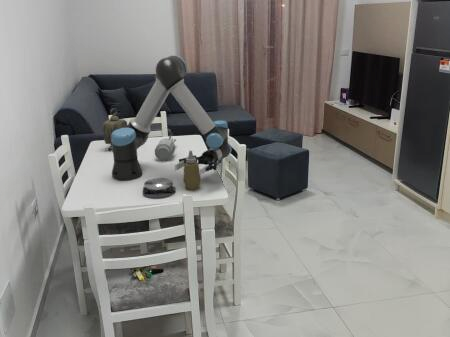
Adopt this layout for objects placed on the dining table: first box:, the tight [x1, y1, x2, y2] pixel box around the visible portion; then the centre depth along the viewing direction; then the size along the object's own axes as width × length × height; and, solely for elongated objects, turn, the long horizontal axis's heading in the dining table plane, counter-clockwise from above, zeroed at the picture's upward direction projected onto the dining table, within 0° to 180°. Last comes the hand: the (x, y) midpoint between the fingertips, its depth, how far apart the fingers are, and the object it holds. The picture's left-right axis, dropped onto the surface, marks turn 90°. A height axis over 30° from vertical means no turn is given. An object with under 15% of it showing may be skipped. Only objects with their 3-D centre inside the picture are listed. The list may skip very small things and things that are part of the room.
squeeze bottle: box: [183, 150, 202, 191], centre depth 199 cm, size 8×8×18 cm
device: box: [154, 134, 177, 162], centre depth 253 cm, size 31×10×10 cm, turn 179°
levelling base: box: [142, 177, 176, 200], centre depth 197 cm, size 15×15×4 cm
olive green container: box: [102, 107, 128, 151], centre depth 263 cm, size 14×9×25 cm, turn 162°
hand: (188, 169), depth 196 cm, fingers open, 13 cm apart
